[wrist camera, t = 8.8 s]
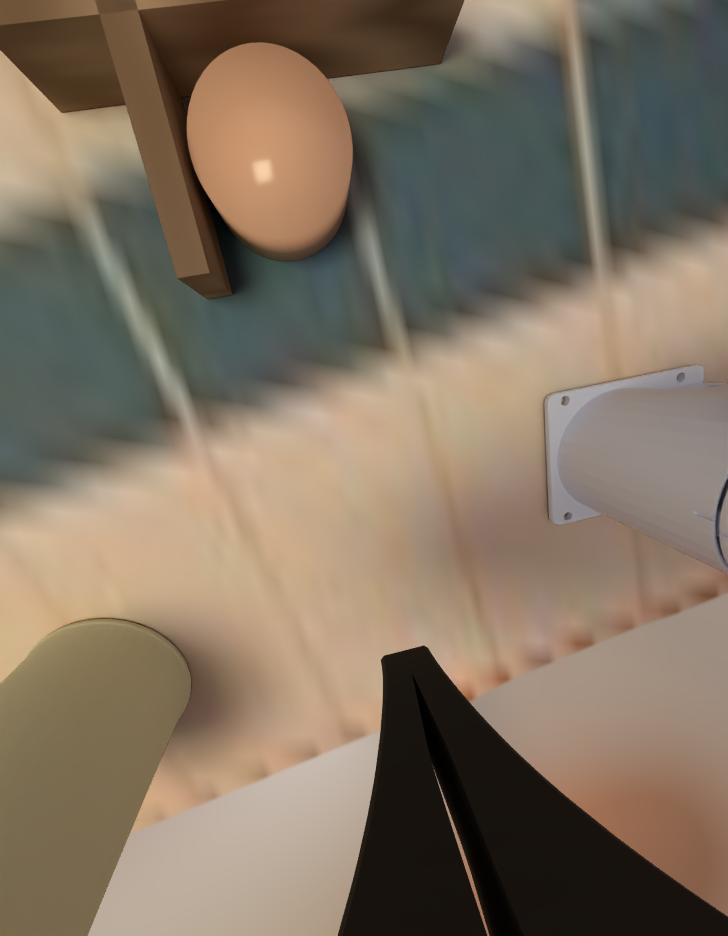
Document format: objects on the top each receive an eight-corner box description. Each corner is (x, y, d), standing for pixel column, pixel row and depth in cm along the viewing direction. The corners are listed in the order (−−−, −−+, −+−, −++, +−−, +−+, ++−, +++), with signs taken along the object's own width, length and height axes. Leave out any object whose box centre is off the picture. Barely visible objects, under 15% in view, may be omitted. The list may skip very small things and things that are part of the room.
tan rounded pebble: (332, 98, 15) (335, 32, 12) (357, 251, 17) (365, 224, 14) (194, 117, 15) (162, 53, 12) (233, 272, 16) (214, 249, 13)
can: (41, 599, 19) (-396, 943, 7) (211, 639, 21) (73, 964, 9) (10, 727, 21) (-384, 1170, 9) (169, 754, 22) (10, 1149, 11)
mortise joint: (437, 28, 15) (471, -76, 11) (458, 256, 17) (492, 226, 14) (48, 75, 14) (-41, -25, 10) (128, 312, 16) (77, 294, 13)
